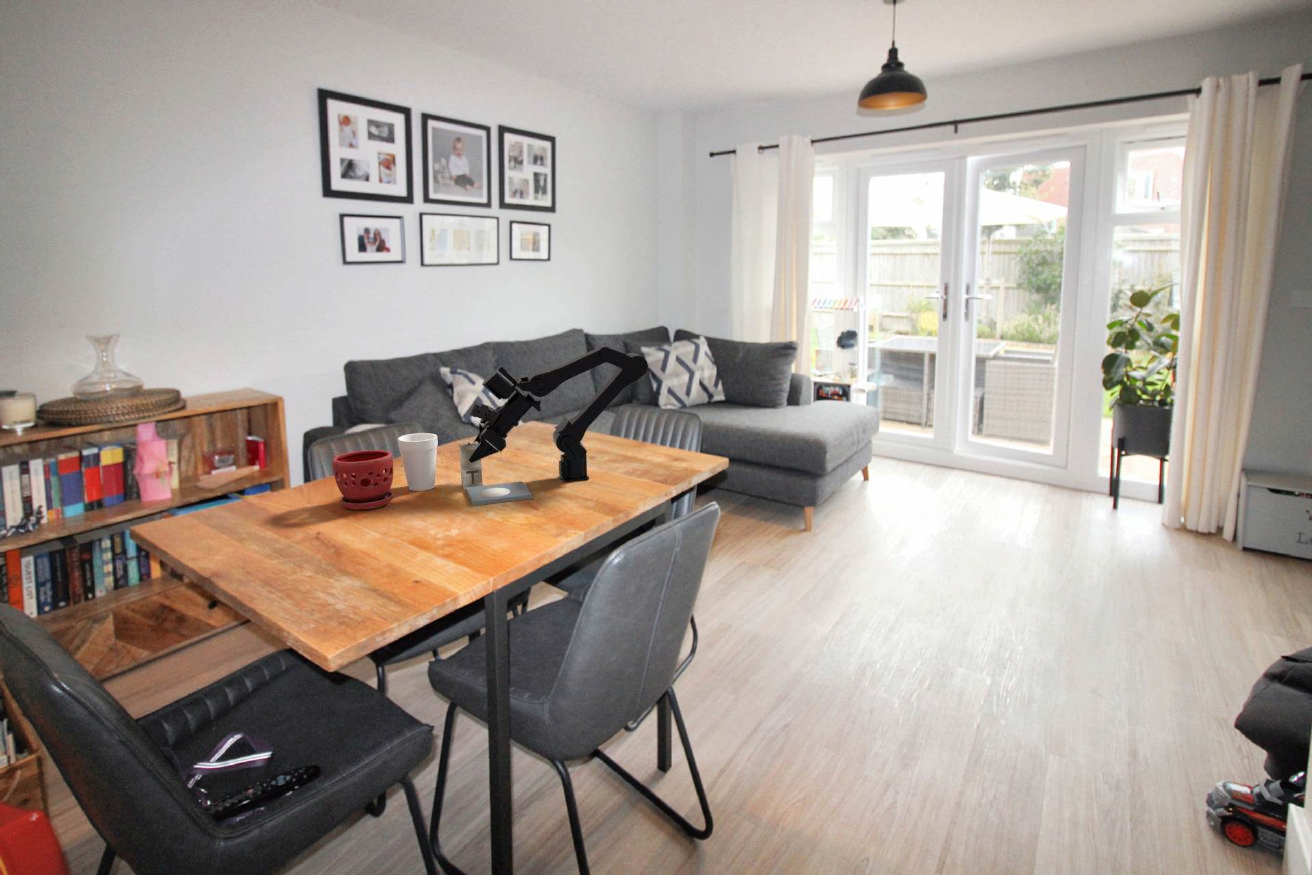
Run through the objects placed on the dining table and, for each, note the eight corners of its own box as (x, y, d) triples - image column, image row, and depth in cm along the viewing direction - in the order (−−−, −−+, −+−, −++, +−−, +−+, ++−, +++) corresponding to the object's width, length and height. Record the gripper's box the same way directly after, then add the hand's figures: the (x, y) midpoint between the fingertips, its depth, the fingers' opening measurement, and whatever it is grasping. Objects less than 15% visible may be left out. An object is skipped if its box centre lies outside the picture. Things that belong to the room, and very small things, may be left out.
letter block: (479, 482, 192) (477, 440, 190) (482, 487, 188) (480, 445, 185) (461, 484, 190) (458, 442, 188) (464, 489, 186) (461, 446, 184)
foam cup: (429, 493, 183) (425, 442, 180) (395, 491, 185) (390, 441, 182) (447, 482, 192) (443, 433, 189) (414, 480, 194) (410, 432, 191)
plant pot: (408, 498, 180) (403, 450, 177) (371, 515, 168) (365, 464, 165) (363, 493, 184) (359, 446, 181) (324, 509, 172) (318, 459, 169)
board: (522, 484, 190) (522, 480, 190) (532, 498, 179) (532, 494, 179) (466, 491, 185) (465, 487, 185) (473, 505, 174) (472, 501, 174)
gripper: (486, 384, 194) (445, 428, 193) (489, 397, 176) (444, 444, 176) (518, 412, 197) (478, 455, 197) (524, 427, 180) (480, 474, 180)
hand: (469, 456), depth 187 cm, fingers open, 9 cm apart
